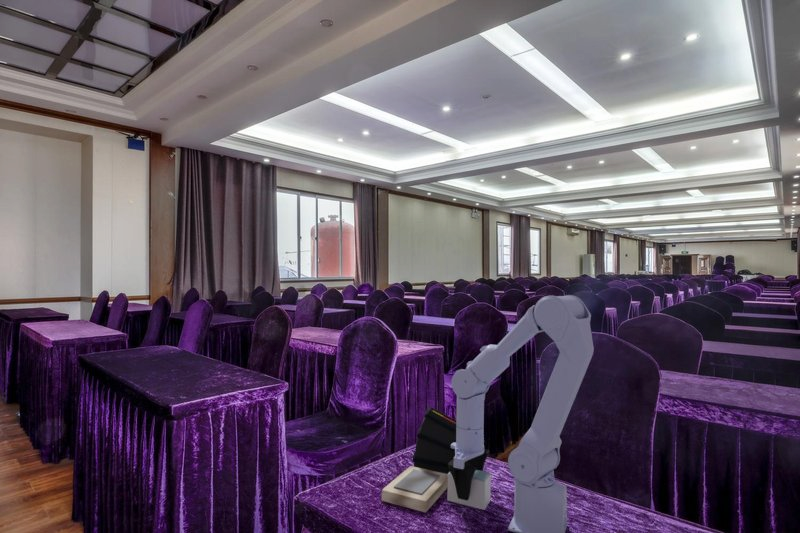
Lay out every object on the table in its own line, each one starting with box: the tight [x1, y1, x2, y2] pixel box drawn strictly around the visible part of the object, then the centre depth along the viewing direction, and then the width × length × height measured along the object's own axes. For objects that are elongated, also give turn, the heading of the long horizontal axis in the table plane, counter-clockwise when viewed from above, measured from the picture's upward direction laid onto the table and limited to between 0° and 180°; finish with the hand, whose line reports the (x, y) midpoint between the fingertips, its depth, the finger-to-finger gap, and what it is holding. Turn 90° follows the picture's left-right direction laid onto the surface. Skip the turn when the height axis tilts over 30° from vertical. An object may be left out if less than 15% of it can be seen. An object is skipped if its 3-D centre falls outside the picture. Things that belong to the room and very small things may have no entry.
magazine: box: [412, 406, 456, 474], centre depth 109 cm, size 4×13×15 cm, turn 84°
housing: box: [446, 470, 492, 510], centre depth 94 cm, size 8×4×6 cm, turn 63°
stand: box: [381, 465, 448, 513], centre depth 97 cm, size 10×14×2 cm
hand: (469, 491), depth 94 cm, fingers open, 7 cm apart
